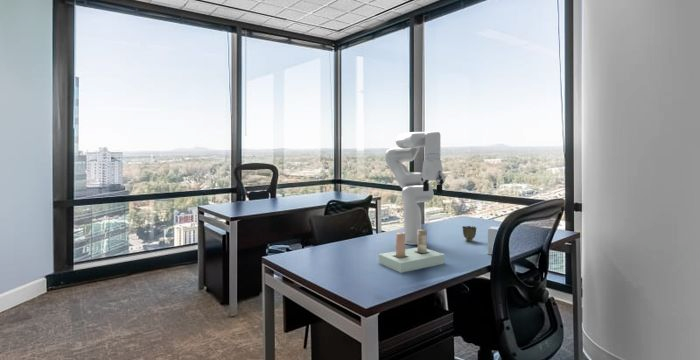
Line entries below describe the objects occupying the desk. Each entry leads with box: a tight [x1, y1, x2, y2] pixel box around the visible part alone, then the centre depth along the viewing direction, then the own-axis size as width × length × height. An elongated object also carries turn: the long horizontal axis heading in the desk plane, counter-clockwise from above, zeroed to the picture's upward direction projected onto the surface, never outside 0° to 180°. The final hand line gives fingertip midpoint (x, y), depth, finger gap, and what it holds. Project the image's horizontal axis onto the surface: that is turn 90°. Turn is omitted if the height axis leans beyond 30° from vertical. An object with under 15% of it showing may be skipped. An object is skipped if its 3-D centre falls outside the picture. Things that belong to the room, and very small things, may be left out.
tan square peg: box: [395, 232, 406, 259], centre depth 163 cm, size 4×4×14 cm
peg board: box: [378, 246, 446, 274], centre depth 166 cm, size 16×24×5 cm, turn 119°
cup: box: [462, 225, 477, 243], centre depth 209 cm, size 8×7×8 cm
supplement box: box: [487, 225, 500, 255], centre depth 183 cm, size 7×7×13 cm
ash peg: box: [417, 229, 428, 255], centre depth 169 cm, size 4×4×14 cm
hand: (432, 191), depth 185 cm, fingers open, 9 cm apart
